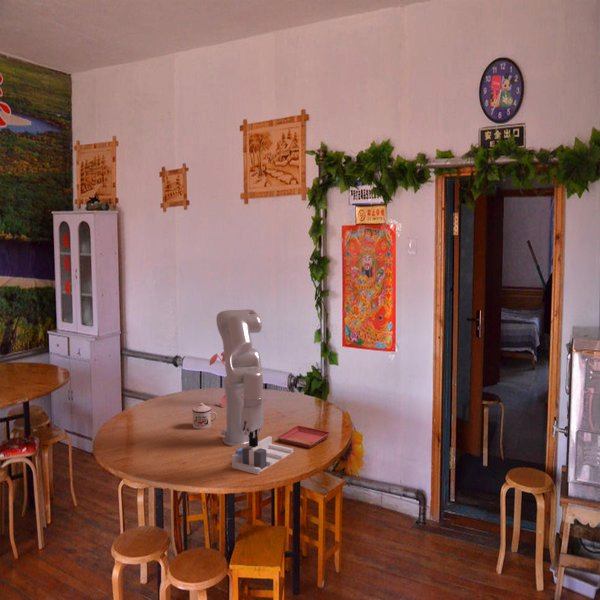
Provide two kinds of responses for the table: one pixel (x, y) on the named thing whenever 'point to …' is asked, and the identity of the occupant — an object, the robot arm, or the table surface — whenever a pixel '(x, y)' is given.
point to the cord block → (254, 456)
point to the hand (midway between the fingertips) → (253, 446)
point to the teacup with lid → (202, 416)
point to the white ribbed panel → (272, 456)
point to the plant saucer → (303, 436)
